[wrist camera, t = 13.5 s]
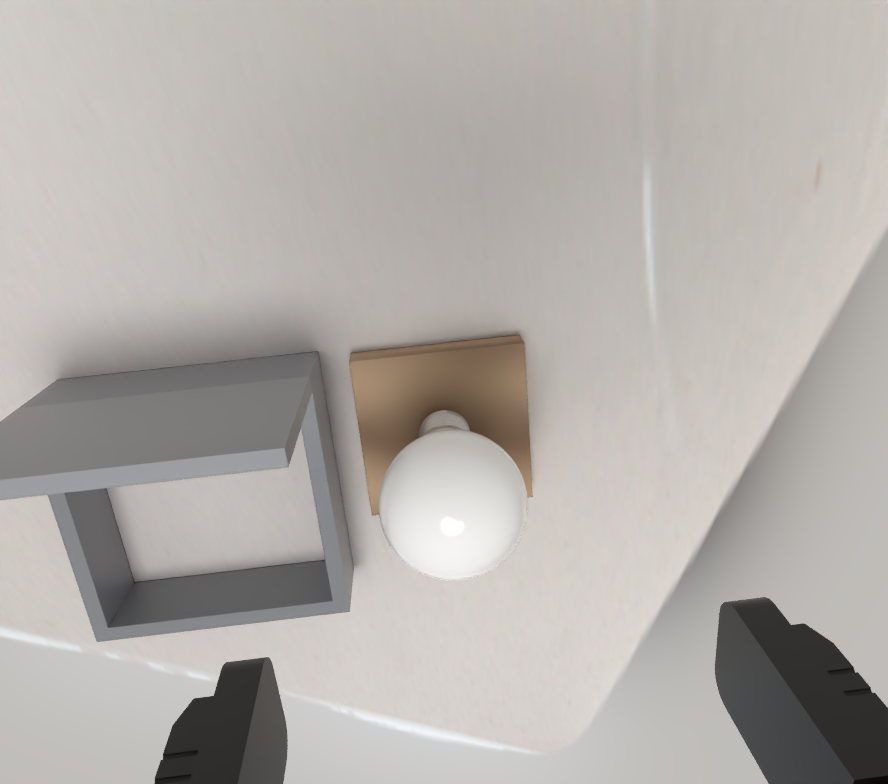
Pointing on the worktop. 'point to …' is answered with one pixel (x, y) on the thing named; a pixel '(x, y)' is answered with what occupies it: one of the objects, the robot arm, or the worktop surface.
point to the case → (175, 458)
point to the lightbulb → (452, 501)
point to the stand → (440, 398)
